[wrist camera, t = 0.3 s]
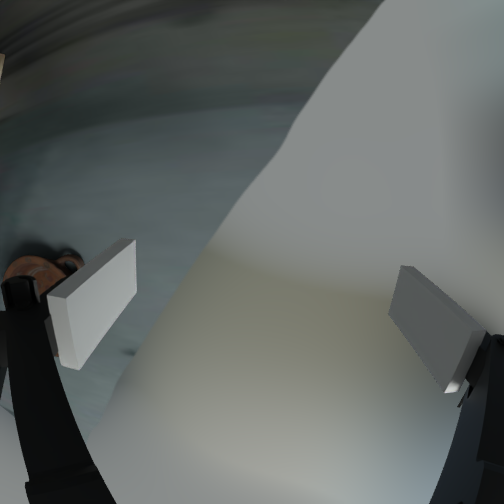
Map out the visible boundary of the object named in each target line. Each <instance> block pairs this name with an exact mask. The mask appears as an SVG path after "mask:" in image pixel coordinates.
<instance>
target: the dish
mask: <svg viewBox="0 0 504 504" xmlns="http://www.w3.org/2000/svg"><path fill="white" fill-rule="evenodd" d="M65 261H71V262H73V263H74V264H75V265H76V267H77V271H78V270H79V269H80V268H82V267H83V266H84V262H83V260H82V259H81V258H80V257H78V256H76V255H73V254H67V255H64V256H62V257H60V258H58V259H57V260H52V259H47V258H42V257H39V256H32V255H26V256H22V257H20V258H18V259H16V260H15V261H13V262H12V263H11V265H10V266H9V267H8V268H7V270H6V272H5V275H4V278H3V281H5V280H6V279H8V278H10V277H13V276H18V275H30V276H33V277H35V278H36V280H37V286H38V292H39V295H41V294H42V293H43V292H44V291H46V290H47V289H49V288H50V287H51V286H52V285H54V284H55V283H56V282H57V281H59V280H60V279H61V278H64V277H66V276H69V275H72V274H73V273H72V272H71V271H70V270H69V269H67V268H66V266H65ZM3 301H4V299H3ZM4 305H5V304H4ZM55 356H56V357H59V354H58V352H57V354H56V355H55Z"/></svg>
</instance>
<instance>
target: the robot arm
mask: <svg viewBox="0 0 504 504" xmlns="http://www.w3.org/2000/svg"><path fill="white" fill-rule="evenodd" d="M1 289H2V294H3V299H4V304H5V308H6V311H0V398H1V393H2V389H3V384H4V380H5V375H6V371H7V367H8V371H9V380H10V388H11V396H12V403H13V409H14V415H15V420H16V426H17V431H18V436H19V440H20V445H21V449H22V453H23V457H24V461H25V465H26V468H27V472H28V476H29V482H25V489H26V493H27V497H28V500H29V503H30V504H116V502H115V500H114V498H113V497H112V495H111V493H110V491H109V489H108V488H107V486H106V484H105V482H104V480H103V478H102V476H101V475H100V472H99V471H98V469H97V467H96V466H95V464H94V462H93V460H92V458H91V456H90V454H89V451H88V449H87V447H86V445H85V442H84V440H83V438H82V436H81V433H80V431H79V428H78V426H77V423H76V421H75V418H74V416H73V413H72V411H71V408H70V405H69V403H68V400H67V397H66V394H65V391H64V389H63V386H62V383H61V380H60V376H59V373H58V370H57V367H56V364H55V360H54V356H55V355H56V354H57V352H58V354H59V358H60V362H61V365H62V366H65V367H69V368H73V369H76V370H80V369H81V367H82V366H83V364H84V363H85V362H86V360H87V359H88V357H89V356H90V354H91V353H92V352H93V350H94V349H95V347H96V346H97V345H98V343H99V342H100V341H101V339H102V338H103V336H104V335H105V334H106V332H107V331H108V330H109V328H110V327H111V326H112V324H113V323H114V321H115V320H116V319H117V317H118V316H119V315H120V313H121V312H122V311H123V309H124V308H125V307H126V305H127V304H128V303H129V302H130V300H131V299H132V298H133V296H134V295H135V294H136V292H137V286H136V240H134V239H123V238H121V239H119V240H118V241H117V242H115V243H114V244H113V245H111V246H110V247H108V248H107V249H106V250H104V251H103V252H102V253H100V254H99V255H98V256H96V257H95V258H93V259H92V260H91V261H89V262H88V263H87V264H86V265H84V266H83V267H82V268H80V269H79V270H78V271H76V272H75V273H74V274H72V275H69V276H66V277H64V278H61V279H60V280H59V281H57V282H56V283H55V284H54V285H52V286H51V287H50V288H49V289H47V290H46V291H44V292H43V293H42V294H41V295H39V292H38V286H37V280H36V278H35V277H33V276H30V275H18V276H13V277H10V278H8V279H6V280H5V281H3V282H2V284H1ZM388 314H389V316H390V317H391V319H392V320H393V321H394V323H395V324H396V325H397V327H398V328H399V329H400V331H401V332H402V333H403V335H404V336H405V338H406V339H407V340H408V342H409V343H410V344H411V346H412V347H413V349H414V350H415V351H416V353H417V354H418V356H419V357H420V358H421V360H422V361H423V363H424V364H425V366H426V367H427V369H428V370H429V371H430V373H431V374H432V376H433V377H434V379H435V380H436V382H437V383H438V384H439V386H440V388H441V389H442V391H443V392H444V393H449V392H457V391H459V389H460V388H461V386H462V384H463V382H464V380H465V378H466V380H467V381H468V382H469V387H468V388H467V390H466V392H465V394H464V396H463V398H462V399H461V401H460V403H459V405H458V406H457V407H460V406H461V405H462V408H461V412H460V417H459V420H458V424H457V427H456V431H455V434H454V438H453V441H452V444H451V447H450V450H449V453H448V456H447V459H446V462H445V465H444V468H443V470H442V473H441V476H440V478H439V481H438V484H437V486H436V489H435V491H434V493H433V496H432V498H431V501H430V503H429V504H504V335H499V334H495V335H493V336H491V335H490V334H489V333H488V332H487V331H486V329H485V328H484V327H482V325H481V324H479V323H478V322H477V321H476V320H475V319H474V318H473V317H472V316H471V315H469V314H468V313H467V312H466V311H465V310H464V309H463V308H462V307H461V306H459V305H458V304H457V303H456V302H455V301H454V300H452V299H451V298H450V297H449V296H448V295H447V294H446V293H444V292H443V291H442V290H441V289H440V288H439V287H437V286H436V285H435V284H434V283H433V282H431V281H430V280H429V279H428V278H426V277H425V276H424V275H423V274H422V273H421V272H419V271H418V270H417V269H416V268H414V267H411V266H401V267H400V272H399V276H398V280H397V284H396V288H395V291H394V295H393V299H392V303H391V306H390V309H389V313H388Z"/></svg>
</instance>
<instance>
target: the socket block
mask: <svg viewBox="0 0 504 504" xmlns="http://www.w3.org/2000/svg"><path fill="white" fill-rule="evenodd" d="M4 59H5V55H4V54H0V80H1V74H2V69H3V63H4Z"/></svg>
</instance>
